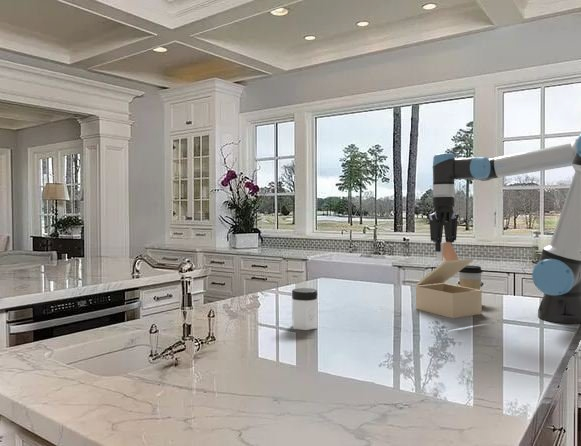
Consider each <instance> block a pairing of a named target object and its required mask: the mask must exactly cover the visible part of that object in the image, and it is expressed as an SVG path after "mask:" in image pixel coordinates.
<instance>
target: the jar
mask: <svg viewBox="0 0 581 446" xmlns="http://www.w3.org/2000/svg"><path fill="white" fill-rule="evenodd" d="M318 317H319V316H318V290H317V289H316V288H311V287H310V288H309V287H307V288H306V287H302V288H300V287H299V288H293V289H292V290H291V326H292V329H294V330H299V331H309V330H311V331H312V330H316V329H318V328H319V327H318V326H319V325H318V323H319V322H318V319H319V318H318Z"/></svg>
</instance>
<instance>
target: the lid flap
mask: <svg viewBox="0 0 581 446" xmlns="http://www.w3.org/2000/svg"><path fill="white" fill-rule="evenodd" d="M442 243H443V259H444V258H445V260H443V261H442V262H441V263H440V264H439V265H438V266H436V267H435V268H434V269H433V270H432V271H430V272H429V273H428V274H426V275H425V276H424V277H423V278H421V280H419V281H418V282H417V283H415V285H416V286H423V285H433V284H442V283H446V282H447V281H449V279H451V278H452V277H454V276H455V275H457V274H458V273H459V271H460V270H462V269H463V268H464V267H466V266H467V265H470V264H471V263H472V262H474V259H473V258H465V259H463V258H462V259H459V257H458V254H457V252H456V251H455V248H454V247H453V244H452V245H451V243H450V242H446V241H445V242H442Z"/></svg>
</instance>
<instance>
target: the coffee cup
mask: <svg viewBox="0 0 581 446" xmlns="http://www.w3.org/2000/svg"><path fill="white" fill-rule="evenodd" d="M458 273H459V286H461V287H466V288H472V289H477V290H481V286H482V285H481V284H482V283H481V282H482V274H483V269H482V267H481V266H479V265H470V264H468V265H467V266H466V267H464V268H463V269H462V270H460V271H459V272H458Z"/></svg>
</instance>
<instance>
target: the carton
mask: <svg viewBox="0 0 581 446" xmlns="http://www.w3.org/2000/svg"><path fill="white" fill-rule="evenodd" d="M482 294H483V293H482V290H481V289H480V290H477V289H472V288H466V287H461V286H460V285H455V284H450V283H446V282H444V283H439V284H430V285H420V286H417V285H416V287H415V309H416V310H419V311H423V312H426V313H431V314H434V315H439V316H442V317H447V318H450V319H458V318H465V317H471V316H477V315H482V310H483V309H482V306H483V305H482V304H483V303H482V296H483V295H482Z"/></svg>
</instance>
